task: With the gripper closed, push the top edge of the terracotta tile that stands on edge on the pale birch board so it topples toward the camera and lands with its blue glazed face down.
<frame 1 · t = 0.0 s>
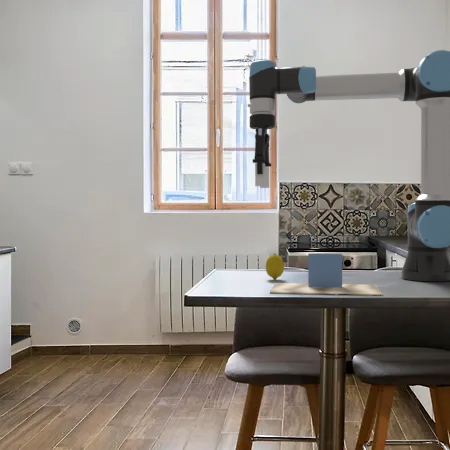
hand: (262, 187, 173), 28 cm above the table, fingers open, 13 cm apart
board: (325, 289, 157), on the table
tile: (325, 253, 159), point 9 cm above the table, touching board
lemon: (274, 280, 179), on the table
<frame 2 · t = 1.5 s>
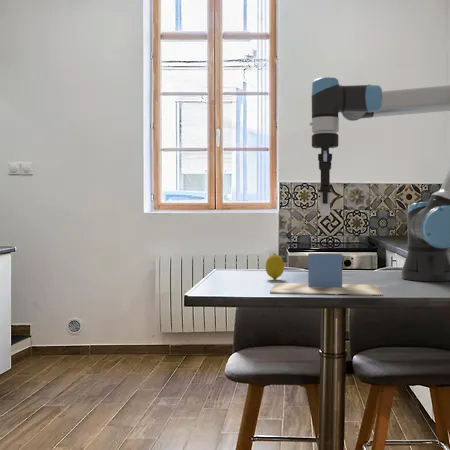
hand: (324, 215, 168), 20 cm above the table, fingers open, 4 cm apart
nothing on the table moved.
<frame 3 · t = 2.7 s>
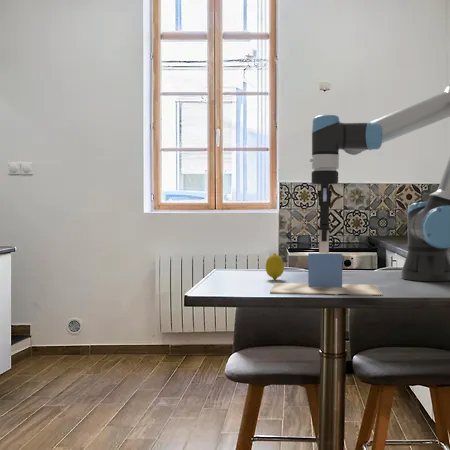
hand: (323, 252, 168), 9 cm above the table, fingers closed
nothing on the table moved.
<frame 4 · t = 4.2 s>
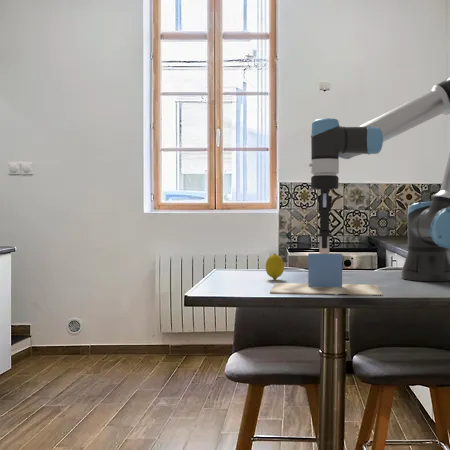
hand: (324, 259, 164), 7 cm above the table, fingers closed
nothing on the table moved.
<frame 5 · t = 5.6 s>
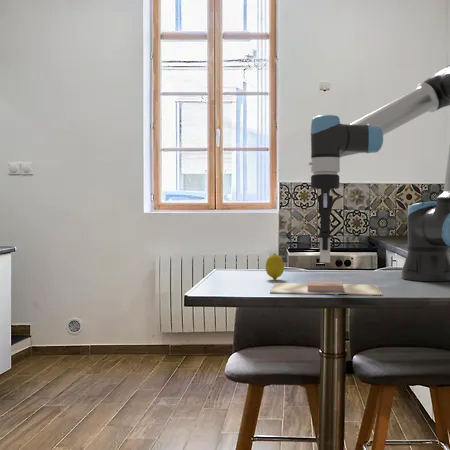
hand: (325, 262, 157), 7 cm above the table, fingers closed
tile: (325, 288, 150), point 1 cm above the table, tilted 90°, touching board
everything else where it was.
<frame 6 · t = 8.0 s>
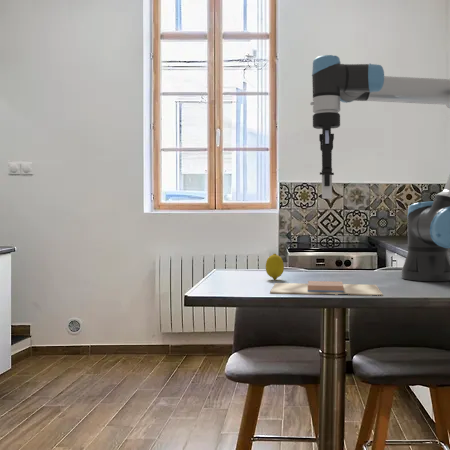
hand: (327, 198, 163), 24 cm above the table, fingers closed
nothing on the table moved.
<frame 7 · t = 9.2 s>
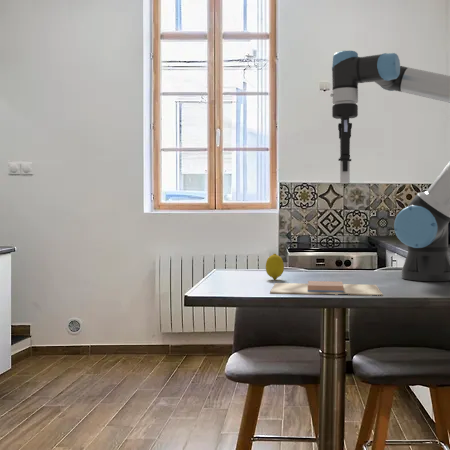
hand: (344, 182, 177), 29 cm above the table, fingers closed
nothing on the table moved.
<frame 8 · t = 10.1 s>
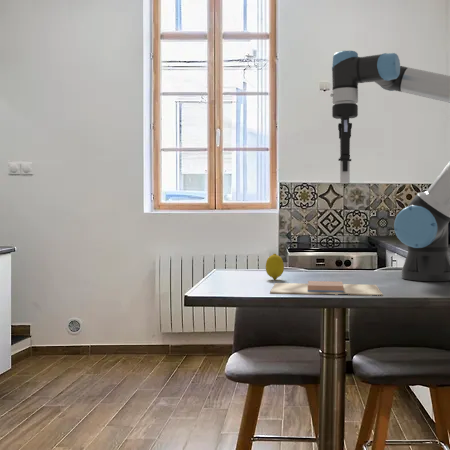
hand: (344, 182, 177), 29 cm above the table, fingers closed
nothing on the table moved.
at the end: tile tilted 90°; tile inside the target area (0.1 cm from its centre), point 1.2 cm above the table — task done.
